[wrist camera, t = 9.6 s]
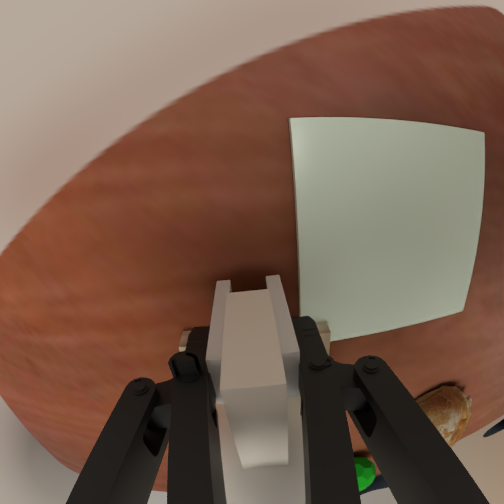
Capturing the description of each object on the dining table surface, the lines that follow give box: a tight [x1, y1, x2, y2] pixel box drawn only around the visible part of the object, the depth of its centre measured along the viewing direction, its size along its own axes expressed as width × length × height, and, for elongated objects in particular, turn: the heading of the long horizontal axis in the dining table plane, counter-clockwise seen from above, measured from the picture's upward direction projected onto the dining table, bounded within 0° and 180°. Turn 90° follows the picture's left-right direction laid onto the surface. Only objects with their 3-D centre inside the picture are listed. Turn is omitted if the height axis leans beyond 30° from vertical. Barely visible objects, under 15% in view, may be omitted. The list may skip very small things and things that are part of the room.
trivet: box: [288, 117, 485, 341], centre depth 16 cm, size 14×14×1 cm
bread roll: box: [415, 386, 472, 447], centre depth 23 cm, size 10×10×8 cm
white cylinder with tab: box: [215, 289, 305, 504], centre depth 13 cm, size 13×7×12 cm, turn 6°
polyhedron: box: [354, 457, 376, 491], centre depth 25 cm, size 5×5×5 cm
